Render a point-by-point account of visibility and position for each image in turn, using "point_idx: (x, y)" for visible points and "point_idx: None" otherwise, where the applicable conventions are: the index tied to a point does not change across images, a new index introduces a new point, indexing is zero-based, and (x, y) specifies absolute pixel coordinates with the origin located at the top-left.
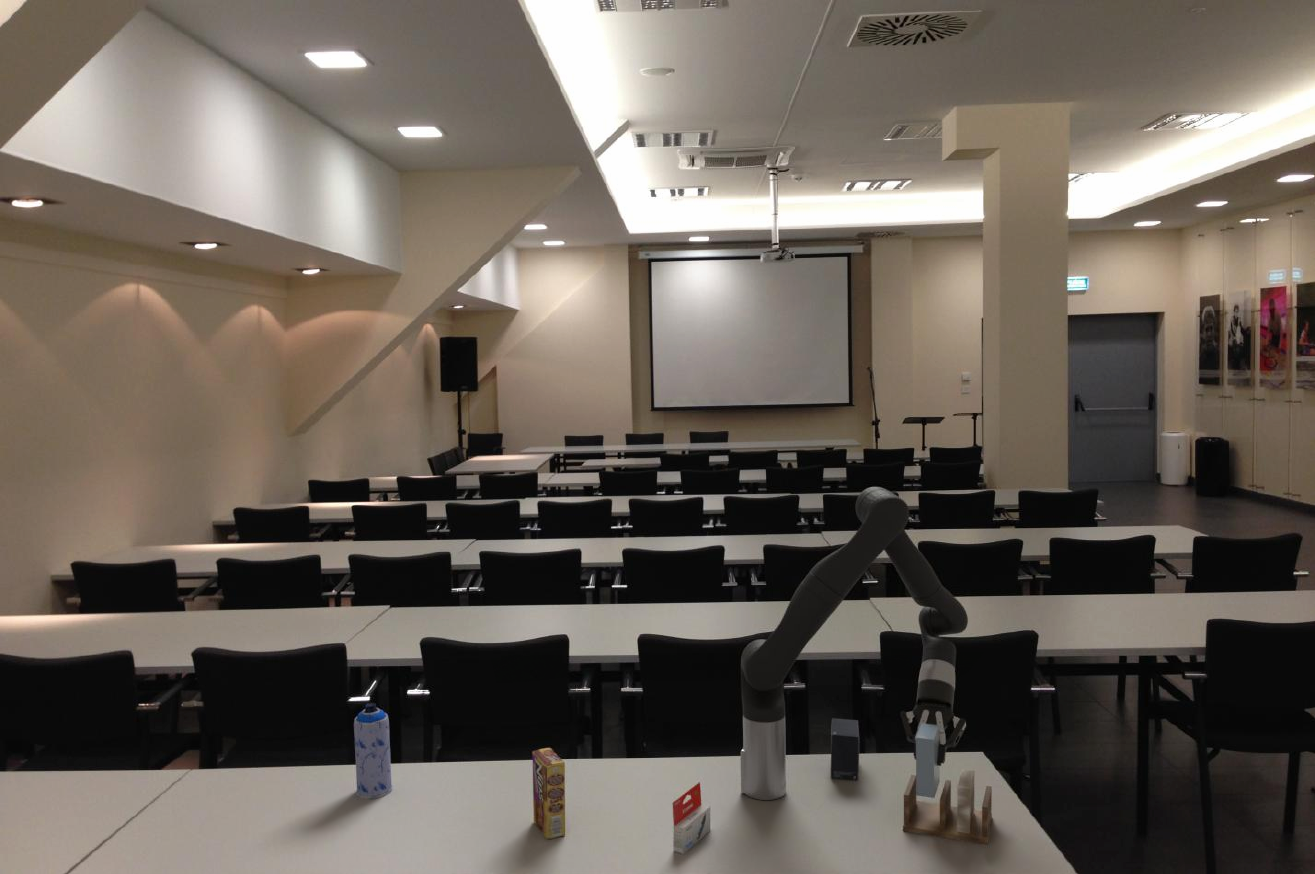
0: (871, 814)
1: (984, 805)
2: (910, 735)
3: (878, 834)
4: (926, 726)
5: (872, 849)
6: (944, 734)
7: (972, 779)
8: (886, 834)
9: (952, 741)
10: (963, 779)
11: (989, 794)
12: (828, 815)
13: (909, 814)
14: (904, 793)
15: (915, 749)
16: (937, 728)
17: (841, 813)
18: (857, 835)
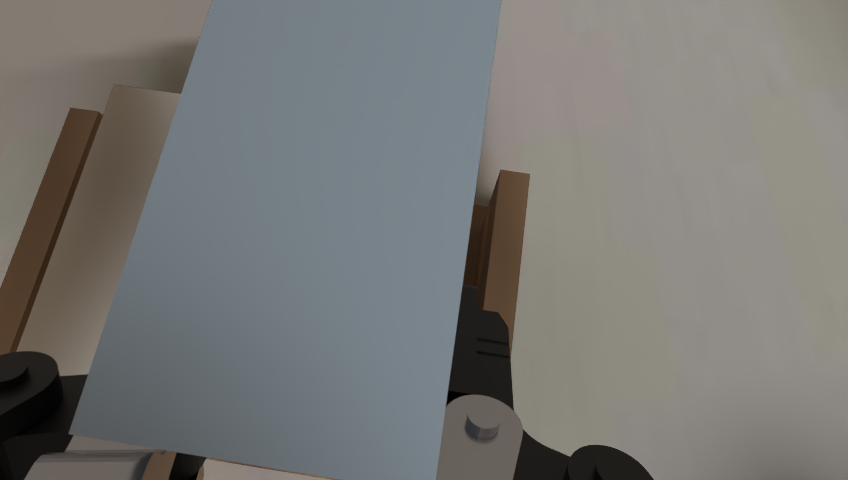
0: (657, 344)
1: (80, 129)
2: (590, 467)
3: (599, 166)
4: (341, 316)
5: (606, 54)
6: (68, 448)
7: (58, 243)
8: (568, 173)
9: (14, 364)
10: (126, 219)
11: (7, 278)
12: (844, 291)
13: (483, 234)
14: (526, 187)
15: (494, 356)
16: (136, 252)
17: (793, 324)
18: (680, 142)
